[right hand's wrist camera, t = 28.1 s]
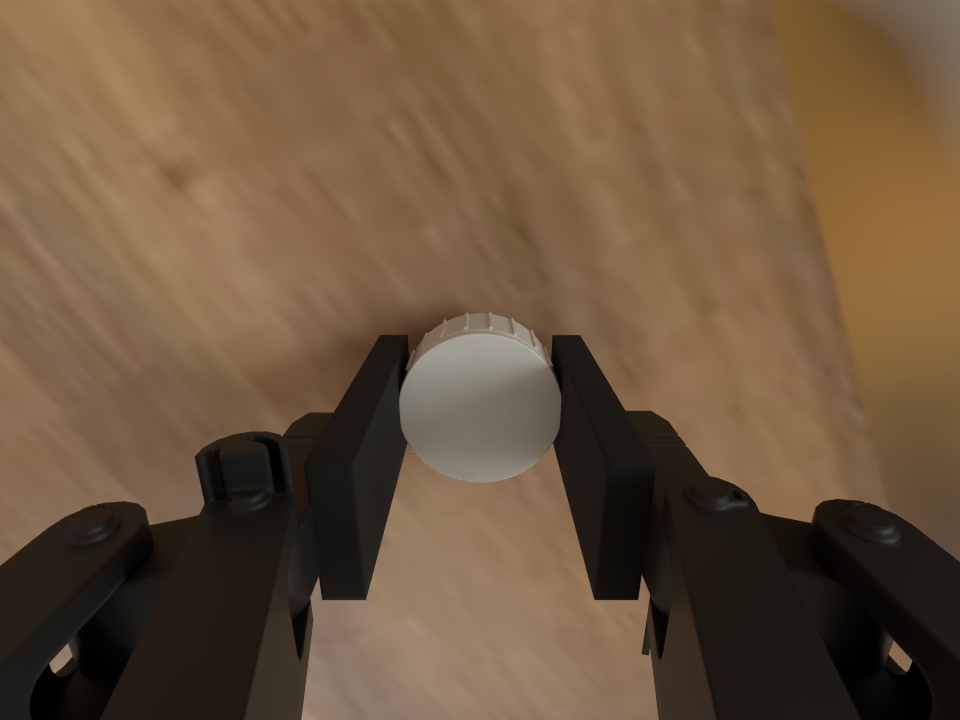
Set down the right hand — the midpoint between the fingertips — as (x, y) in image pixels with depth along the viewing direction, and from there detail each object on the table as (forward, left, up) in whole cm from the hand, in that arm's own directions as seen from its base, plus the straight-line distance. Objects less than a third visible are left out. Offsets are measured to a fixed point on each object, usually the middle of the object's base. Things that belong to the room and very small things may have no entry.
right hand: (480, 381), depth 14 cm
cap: (0, 0, +2) cm, 2 cm away
